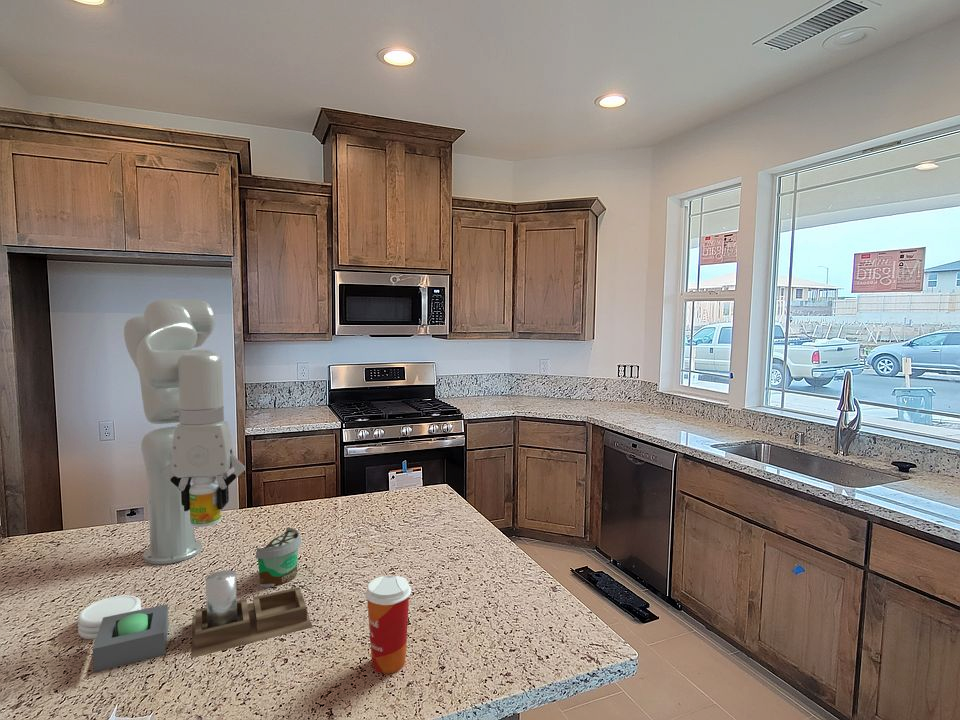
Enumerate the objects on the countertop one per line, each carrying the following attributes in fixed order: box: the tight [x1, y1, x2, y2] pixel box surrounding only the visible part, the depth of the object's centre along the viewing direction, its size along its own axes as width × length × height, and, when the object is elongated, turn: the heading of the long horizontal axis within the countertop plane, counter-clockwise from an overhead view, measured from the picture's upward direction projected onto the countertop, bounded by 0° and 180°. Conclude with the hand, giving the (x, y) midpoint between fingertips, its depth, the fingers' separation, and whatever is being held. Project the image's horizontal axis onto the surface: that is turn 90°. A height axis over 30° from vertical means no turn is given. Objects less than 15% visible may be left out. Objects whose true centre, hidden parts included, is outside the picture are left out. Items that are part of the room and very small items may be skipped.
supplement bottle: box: [189, 476, 222, 528], centre depth 103 cm, size 5×5×10 cm
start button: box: [117, 613, 148, 636], centre depth 92 cm, size 4×4×4 cm
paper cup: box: [364, 575, 412, 675], centre depth 90 cm, size 8×8×14 cm
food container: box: [255, 527, 302, 588], centre depth 117 cm, size 12×6×10 cm, turn 168°
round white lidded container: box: [76, 594, 142, 640], centre depth 101 cm, size 10×10×4 cm
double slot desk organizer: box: [190, 586, 313, 659], centre depth 100 cm, size 14×20×4 cm
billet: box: [205, 569, 238, 629], centre depth 98 cm, size 5×5×10 cm
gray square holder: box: [92, 603, 170, 673], centre depth 92 cm, size 10×10×5 cm
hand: (205, 507), depth 103 cm, fingers closed on supplement bottle, 5 cm apart
